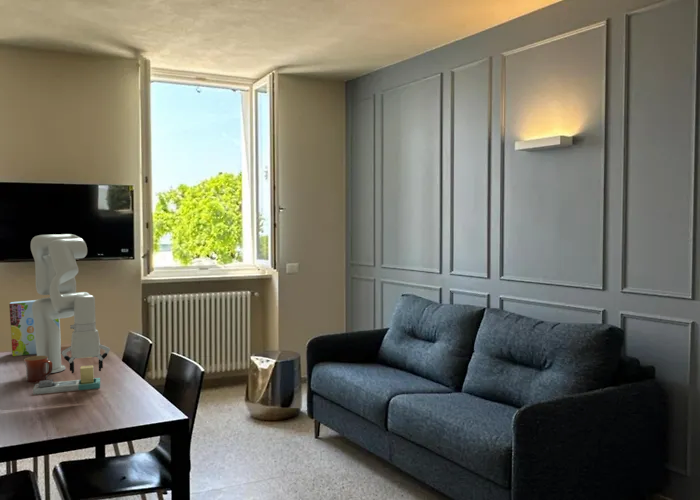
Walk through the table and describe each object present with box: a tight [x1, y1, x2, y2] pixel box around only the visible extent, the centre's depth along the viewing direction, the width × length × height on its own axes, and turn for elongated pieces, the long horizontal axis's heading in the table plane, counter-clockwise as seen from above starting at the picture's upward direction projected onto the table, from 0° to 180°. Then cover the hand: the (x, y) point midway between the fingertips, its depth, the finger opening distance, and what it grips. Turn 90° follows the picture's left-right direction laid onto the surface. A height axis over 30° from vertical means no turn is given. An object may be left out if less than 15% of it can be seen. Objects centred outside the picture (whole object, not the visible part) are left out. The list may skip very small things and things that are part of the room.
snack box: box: [8, 299, 62, 357], centre depth 321 cm, size 22×9×26 cm, turn 114°
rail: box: [32, 377, 101, 396], centre depth 250 cm, size 23×8×3 cm, turn 109°
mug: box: [23, 355, 53, 384], centre depth 262 cm, size 12×9×10 cm
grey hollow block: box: [38, 379, 54, 388], centre depth 247 cm, size 4×4×4 cm
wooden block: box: [79, 364, 95, 384], centre depth 252 cm, size 4×4×8 cm
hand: (86, 371), depth 252 cm, fingers open, 9 cm apart
